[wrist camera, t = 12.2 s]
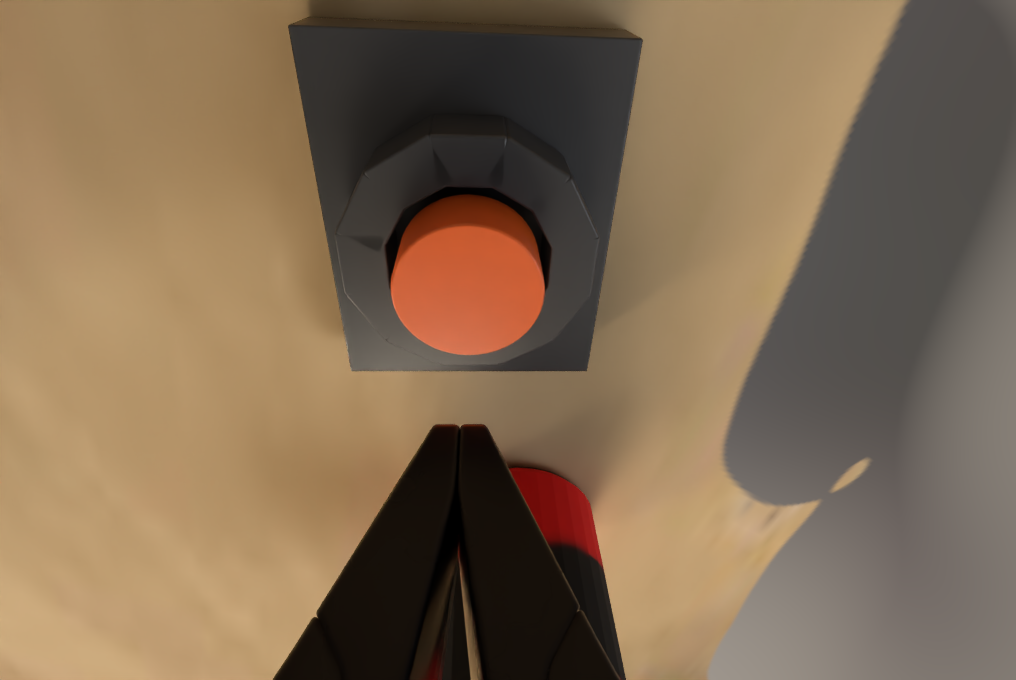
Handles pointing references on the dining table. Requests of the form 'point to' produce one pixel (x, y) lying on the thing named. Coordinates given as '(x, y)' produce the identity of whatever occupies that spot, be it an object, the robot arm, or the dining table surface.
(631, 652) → the dining table surface
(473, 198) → the button
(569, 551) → the soda can
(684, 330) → the dining table surface
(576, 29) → the panel
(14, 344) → the dining table surface
